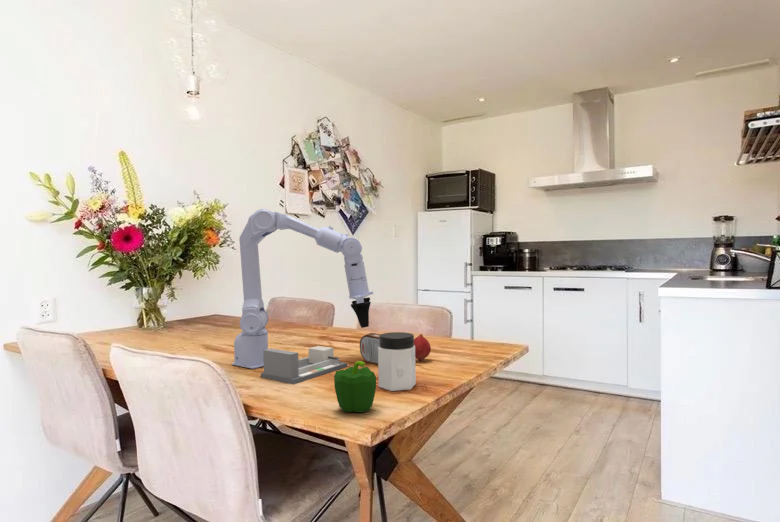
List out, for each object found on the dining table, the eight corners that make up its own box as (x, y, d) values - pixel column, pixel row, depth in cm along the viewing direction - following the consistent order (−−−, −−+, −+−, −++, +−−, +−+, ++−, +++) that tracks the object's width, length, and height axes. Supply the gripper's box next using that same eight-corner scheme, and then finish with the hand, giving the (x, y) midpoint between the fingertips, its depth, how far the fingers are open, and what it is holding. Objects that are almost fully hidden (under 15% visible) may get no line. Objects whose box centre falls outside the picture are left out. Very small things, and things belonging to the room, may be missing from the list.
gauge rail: (260, 377, 118) (260, 349, 118) (315, 361, 135) (315, 337, 135) (293, 384, 111) (293, 355, 111) (347, 366, 128) (346, 341, 128)
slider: (308, 362, 128) (308, 348, 128) (319, 359, 132) (319, 345, 131) (332, 366, 123) (331, 351, 123) (342, 363, 127) (342, 348, 127)
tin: (403, 367, 126) (402, 336, 126) (395, 370, 124) (394, 338, 124) (365, 359, 137) (365, 331, 136) (357, 361, 134) (357, 332, 134)
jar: (382, 392, 104) (381, 339, 103) (375, 382, 112) (374, 333, 111) (420, 389, 106) (419, 337, 105) (411, 379, 114) (410, 331, 113)
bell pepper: (330, 406, 95) (329, 357, 95) (368, 400, 98) (367, 353, 98) (341, 419, 87) (340, 366, 87) (382, 413, 90) (381, 362, 90)
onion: (407, 362, 131) (407, 334, 131) (414, 358, 137) (414, 331, 137) (427, 364, 129) (426, 335, 129) (433, 359, 135) (432, 332, 134)
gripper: (370, 278, 127) (379, 326, 127) (369, 275, 141) (377, 318, 142) (345, 282, 127) (354, 331, 127) (347, 279, 141) (354, 322, 141)
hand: (364, 324), depth 134 cm, fingers open, 7 cm apart
